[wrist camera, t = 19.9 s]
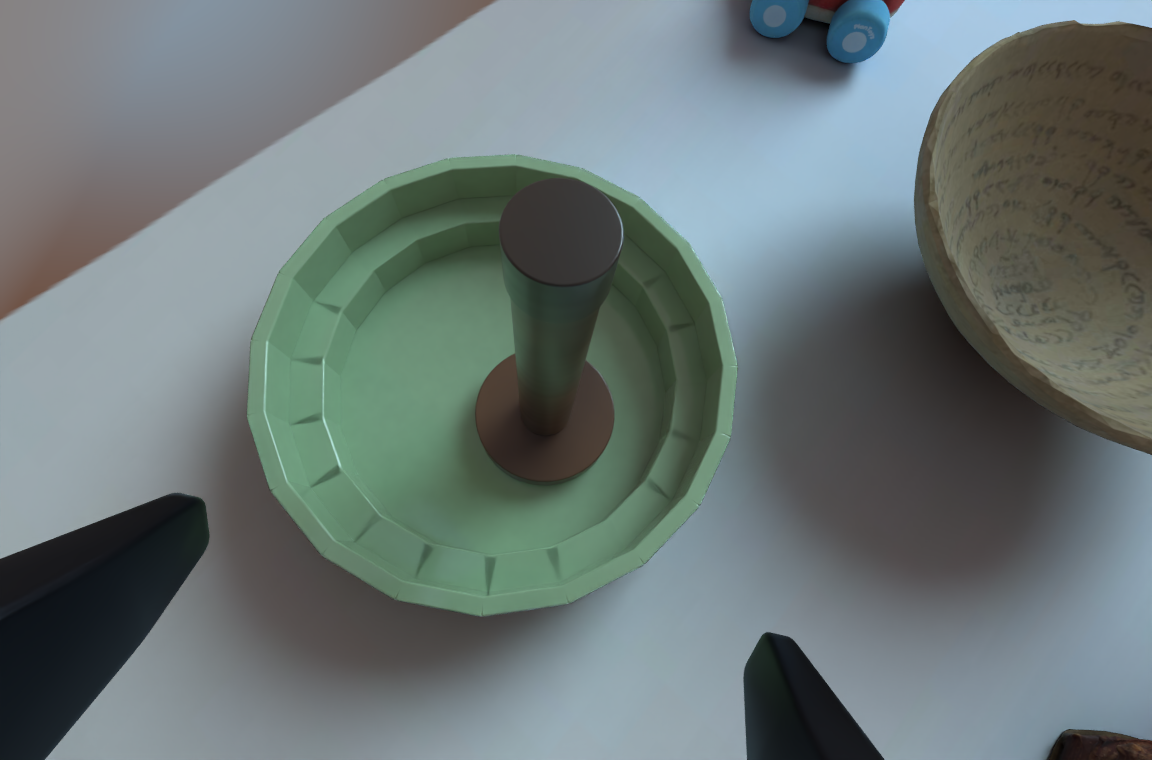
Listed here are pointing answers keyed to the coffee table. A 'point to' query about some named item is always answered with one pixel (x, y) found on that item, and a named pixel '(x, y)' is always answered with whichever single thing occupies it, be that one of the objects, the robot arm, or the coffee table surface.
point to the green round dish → (451, 386)
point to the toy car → (830, 22)
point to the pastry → (1100, 746)
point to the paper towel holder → (552, 334)
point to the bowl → (1050, 219)
